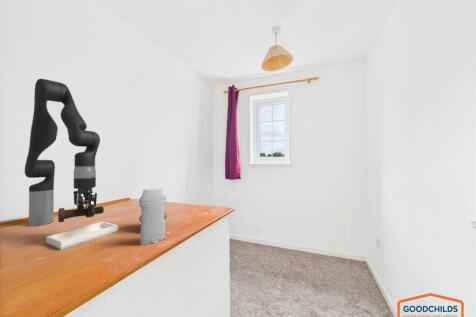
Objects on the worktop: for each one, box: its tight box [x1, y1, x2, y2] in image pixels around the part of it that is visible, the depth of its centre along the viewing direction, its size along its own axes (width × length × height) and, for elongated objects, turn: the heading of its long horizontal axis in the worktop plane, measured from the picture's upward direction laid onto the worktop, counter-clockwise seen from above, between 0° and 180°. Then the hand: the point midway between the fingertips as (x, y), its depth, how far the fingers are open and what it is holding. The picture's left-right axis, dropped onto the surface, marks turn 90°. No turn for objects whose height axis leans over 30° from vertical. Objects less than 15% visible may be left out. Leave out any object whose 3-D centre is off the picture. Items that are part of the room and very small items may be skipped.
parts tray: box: [45, 221, 119, 251], centre depth 84 cm, size 12×21×3 cm, turn 153°
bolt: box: [57, 206, 105, 223], centre depth 84 cm, size 6×5×15 cm
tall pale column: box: [139, 186, 167, 246], centre depth 80 cm, size 11×4×22 cm, turn 134°
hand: (84, 215), depth 84 cm, fingers closed on bolt, 6 cm apart
